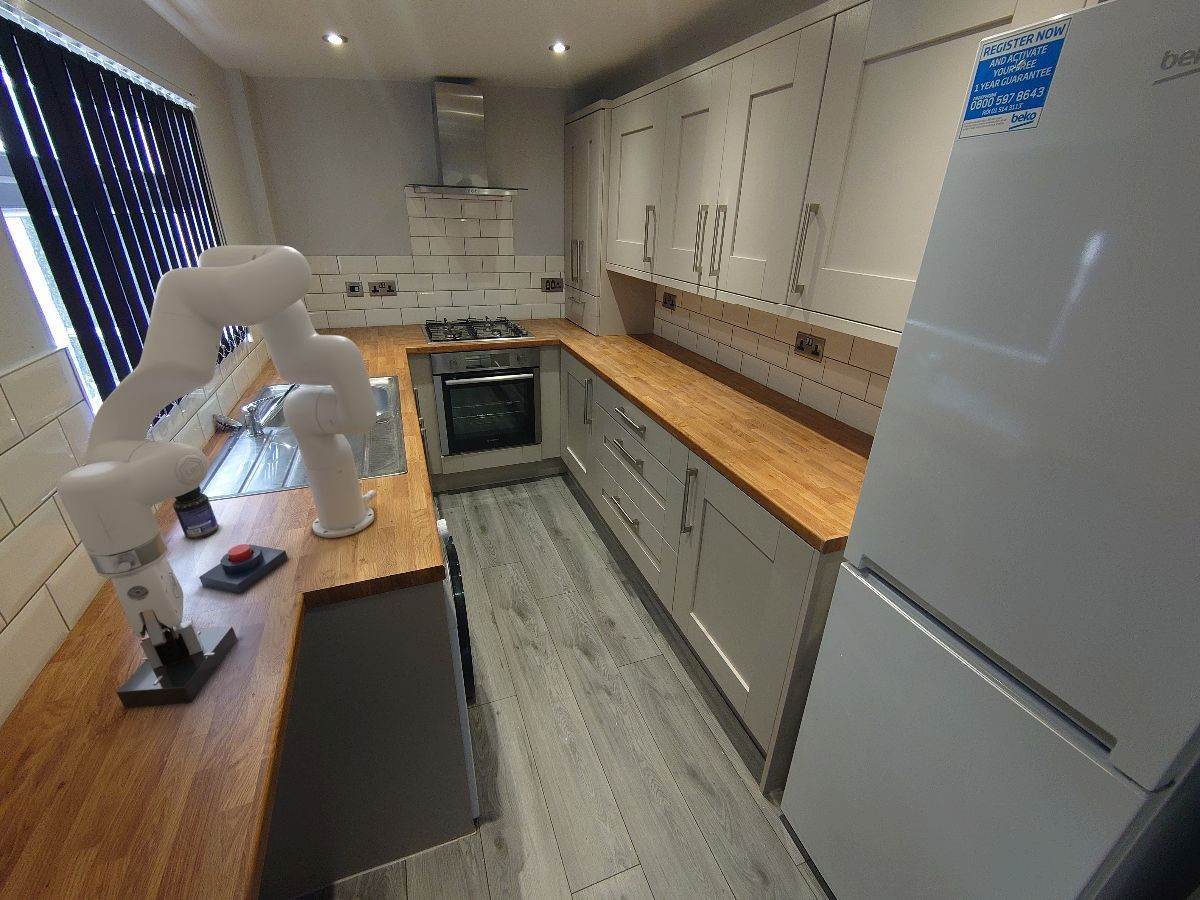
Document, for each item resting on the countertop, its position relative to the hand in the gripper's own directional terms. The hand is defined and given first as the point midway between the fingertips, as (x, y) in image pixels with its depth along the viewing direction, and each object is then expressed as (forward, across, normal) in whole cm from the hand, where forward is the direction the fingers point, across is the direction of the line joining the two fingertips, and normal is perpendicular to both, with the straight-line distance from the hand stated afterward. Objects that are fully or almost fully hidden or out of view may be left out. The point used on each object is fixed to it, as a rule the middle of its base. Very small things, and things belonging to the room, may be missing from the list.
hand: (176, 654), depth 78 cm
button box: (+4, +23, -10) cm, 25 cm away
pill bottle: (+4, +46, -2) cm, 46 cm away
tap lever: (0, 0, 0) cm, 0 cm away
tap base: (+4, 0, 0) cm, 4 cm away
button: (0, +23, -10) cm, 25 cm away
